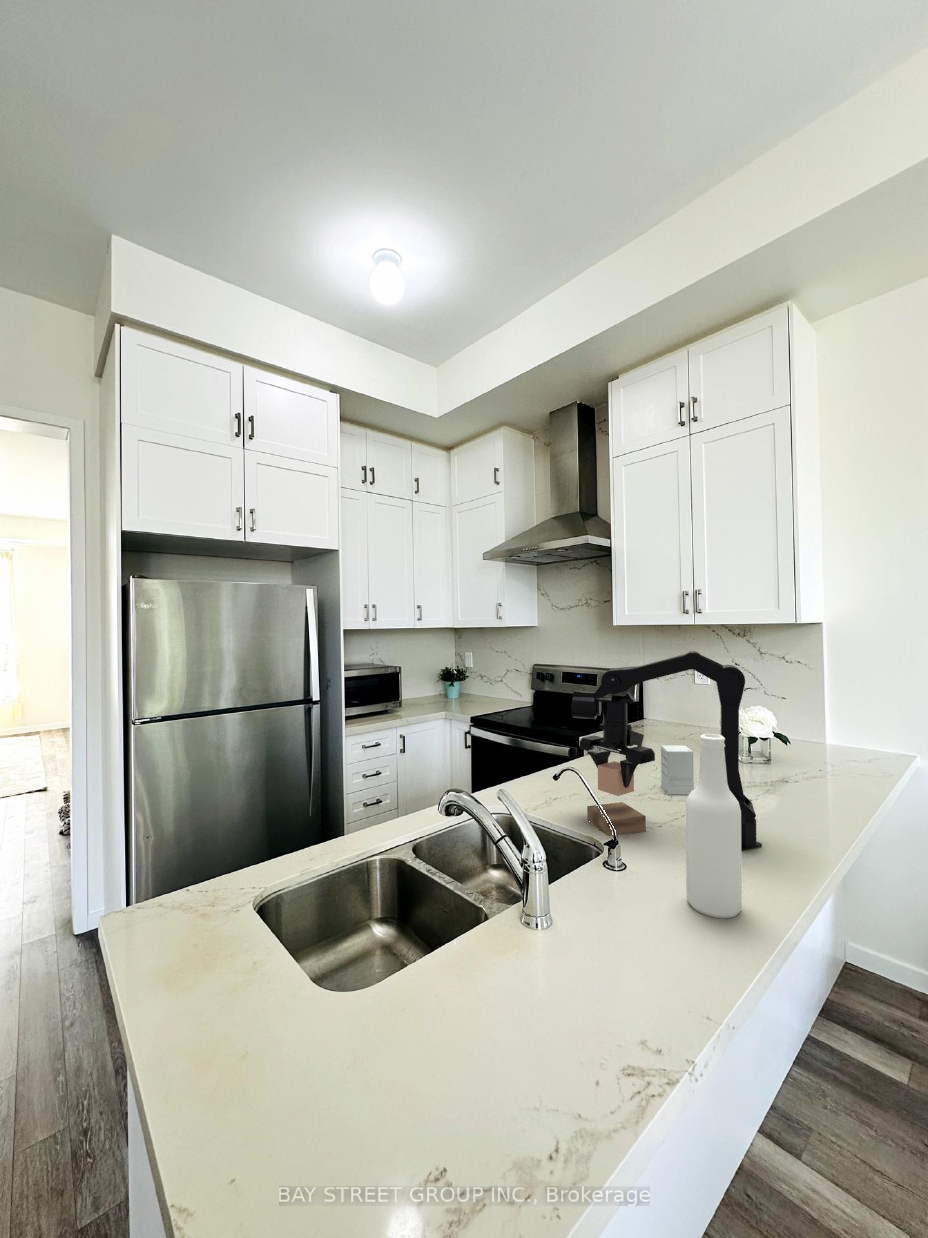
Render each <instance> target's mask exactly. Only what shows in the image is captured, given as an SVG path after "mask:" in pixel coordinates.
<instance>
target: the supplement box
mask: <svg viewBox="0 0 928 1238" xmlns="http://www.w3.org/2000/svg"><path fill="white" fill-rule="evenodd" d="M660 773H661V775H660V778H661V779H660V785H661V788H662V789H663V790H664V791H665V792H666V794H668V795H680V796H681V795H682V796H683V795H687V796H688V795H689V794H690V793H691V791H692V790H693V789H694V788H695V785H694V784H695V783H694V782H695V780H694V779H695V778H694V751H693V750H692V749H691V748H689V747H687V745H685V744H684V745H681V744H680V745H675V744H672V745H671V744H670V745H669V744H668V745H667V744H663V745H662V744H661V745H660Z"/></svg>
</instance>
